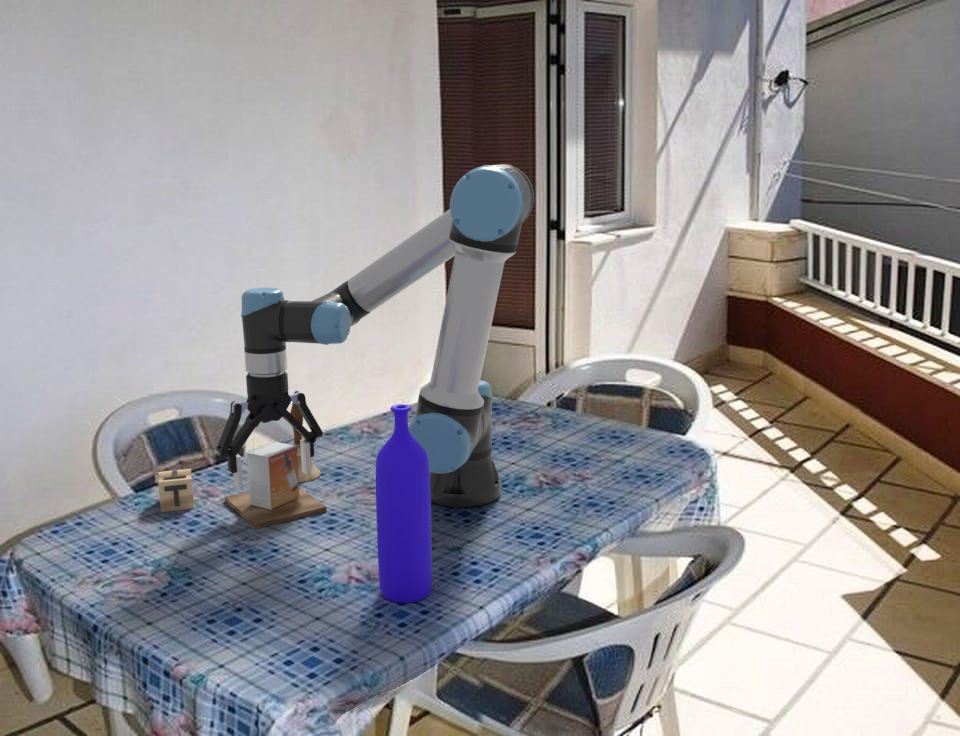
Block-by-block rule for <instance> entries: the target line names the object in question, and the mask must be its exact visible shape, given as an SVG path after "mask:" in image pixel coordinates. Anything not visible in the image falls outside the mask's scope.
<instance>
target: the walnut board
mask: <svg viewBox="0 0 960 736" xmlns="http://www.w3.org/2000/svg"><path fill="white" fill-rule="evenodd" d="M224 502H225V503H226V505H228V506H229V507H230V508H232V509H233V510H234V511H235V513H236V514H238V515H240V516H241V517H242V518H243V519H244V520H245V521H246V522H247V523H248V524H250V525H251V526H252V527H253V528H254V529H259V528H265V527H269V526H273V525H276V524H277V525H278V524H280V523H284V522H285V523H286V522H289V521H293V520H298V519H301V518H305V517H309V516H310V517H311V516H314V515H318V514H322V513H327V511H328V510H327V505H325V504H324V503H322V502H320V500H318V499H316V498H315V497H313V496H312V495H311V494H309V492H307V491H305V490H304V489H303V488H301V487H300V486H299V498H298V499H295V500H292V501H290V502H287V503H285V504H283V505H281V506H278V507H276V508H274V509H272V510H269V509H265V508H261V507H258V506H254V505H251V504H250V492H249V491H245V492H239V493H236V494H230V495H227V496H224Z"/></svg>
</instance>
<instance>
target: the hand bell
mask: <svg viewBox="0 0 960 736" xmlns="http://www.w3.org/2000/svg"><path fill="white" fill-rule="evenodd" d="M290 413H291V414H292V415H293V417H294V418H295V419H296V420H297V421H298V422H299V423H300V424H301V425H303V424H304V417H303V416H302V414H301V412H300V411H299V409H298V407H297V405H296V404H294V403H293V402H292V405H291V408H290ZM303 426H304V425H303ZM291 427H292V426H291ZM292 429H293V430H292V431H293V441H294V442H293V446H296V447H297V458H298V478H299V484H300V483H305V482H311V481H313V480H316V479H318V478H320V476H321V475H322V473H321V471H320V470H319V469H318V468H317V467H316V466H315V465H314V462H313V460H312V457H310V460H311V475H309V476H307V475H306V474H304V473H303V472H302V464H301V446H300V440H303V436H302V435H301V434H300V433H299V432H298V431H297V430H296V429H295V428H293V427H292Z"/></svg>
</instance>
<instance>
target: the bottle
mask: <svg viewBox="0 0 960 736" xmlns="http://www.w3.org/2000/svg"><path fill="white" fill-rule="evenodd" d="M411 410H412V406H411V405H409V404H400V403H399V404H394V405H392V406H391V407H390V411H391V412H393V417H394V430H393V433H392V435H391V437H389V439H388V440H387V441H386V442H385V443H384V445H383V446H382V447H381V449H380V451H378V453H377V455H376V460H375V506H376V507H375V511H376V538H377V539H376V540H377V541H376V542H377V564H378V578H379V581H378V582H379V589H380V594H381V595H382V597H383V598H384V599H385V600H386V601H389V602H391V603H396V604H411V603H417V602H420V601H422V600H425V599H426V598H427V597H428V596H429V595H430V593H431V591H432V582H433V580H432V579H433V578H432V577H433V575H432V573H433V562H432V561H433V560H432V559H433V558H432V557H433V549H432V548H433V546H432V545H433V544H432V541H433V540H432V537H433V536H432V502H431V495H430V472H429V461H428V456H427V453H426V452H425V450H424V449H423V447H422V446H421V445H420V444H419V443H418V441H417V440H416V439H415V438H414V437H413V436H412V435H411V434H410V432H409V429H408V427H409V417H408V416H409V412H411Z"/></svg>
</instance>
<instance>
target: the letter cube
mask: <svg viewBox="0 0 960 736" xmlns="http://www.w3.org/2000/svg"><path fill="white" fill-rule="evenodd" d="M157 474H158V479H157V480H158V483H157V484H158V494H159V503H160V504H159V505H160V513H164V512H165V513H166V512H172V511H181V510H190V509H195V506H194V505H195V504H194V491H193V479H192V478H193V477H192V468H183V469H174V470H166V471H158V473H157Z"/></svg>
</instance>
